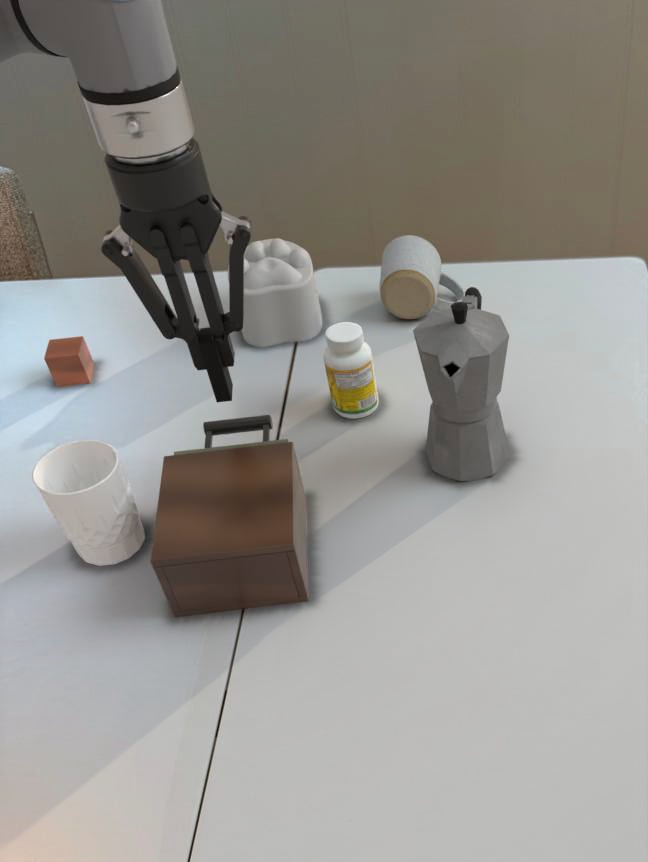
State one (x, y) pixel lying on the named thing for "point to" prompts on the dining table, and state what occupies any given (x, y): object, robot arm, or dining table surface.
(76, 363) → the block
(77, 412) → the dining table surface
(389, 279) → the ceramic mug
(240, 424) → the drawer
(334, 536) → the dining table surface
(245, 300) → the lumpy-topped squat cylinder
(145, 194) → the robot arm
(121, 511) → the white cup
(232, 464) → the cabinet
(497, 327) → the coffeepot
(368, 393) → the supplement bottle
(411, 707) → the dining table surface
